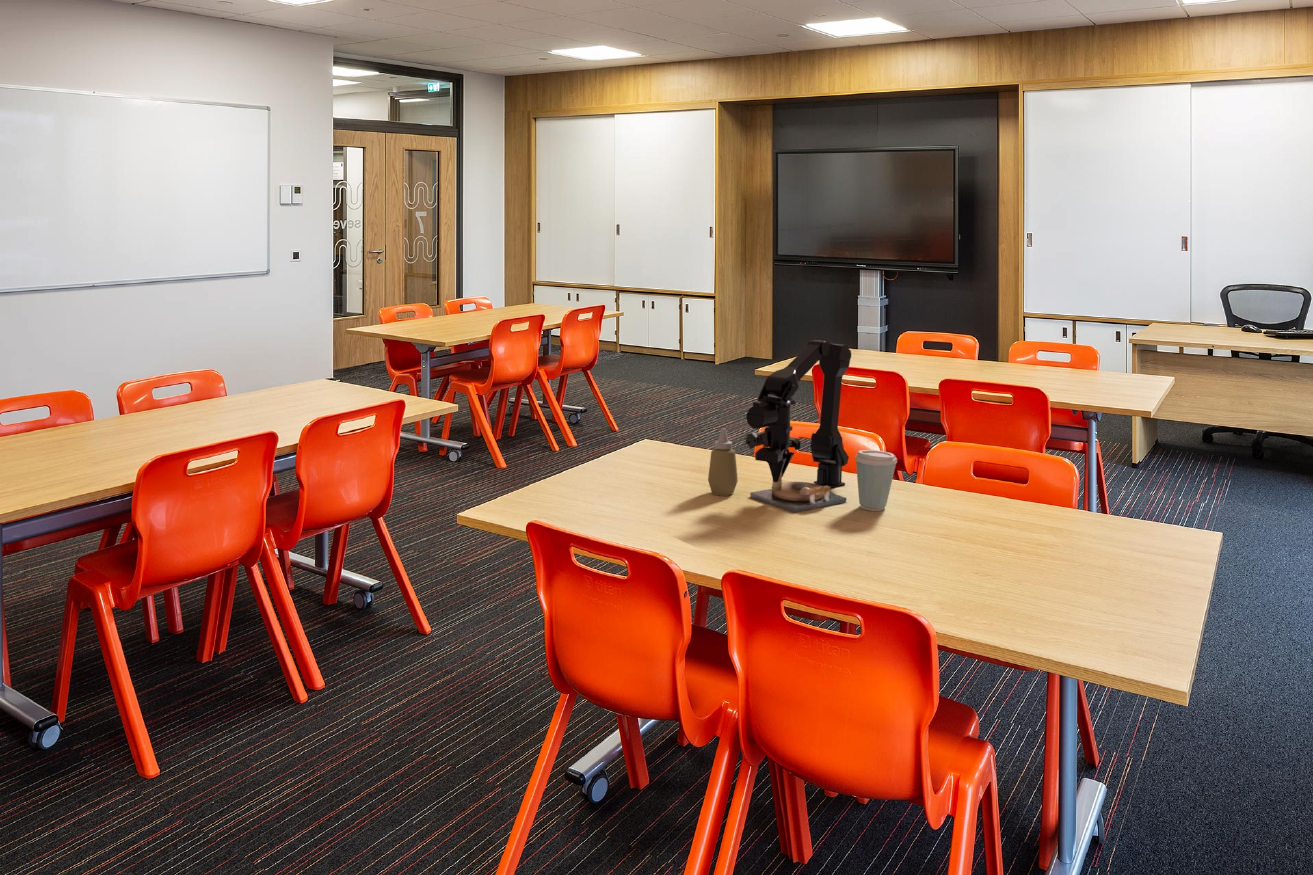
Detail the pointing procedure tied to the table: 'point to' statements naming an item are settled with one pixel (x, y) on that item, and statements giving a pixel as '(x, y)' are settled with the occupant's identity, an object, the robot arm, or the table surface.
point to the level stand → (800, 505)
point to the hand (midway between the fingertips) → (777, 480)
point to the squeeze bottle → (723, 467)
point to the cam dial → (794, 490)
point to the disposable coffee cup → (874, 478)
